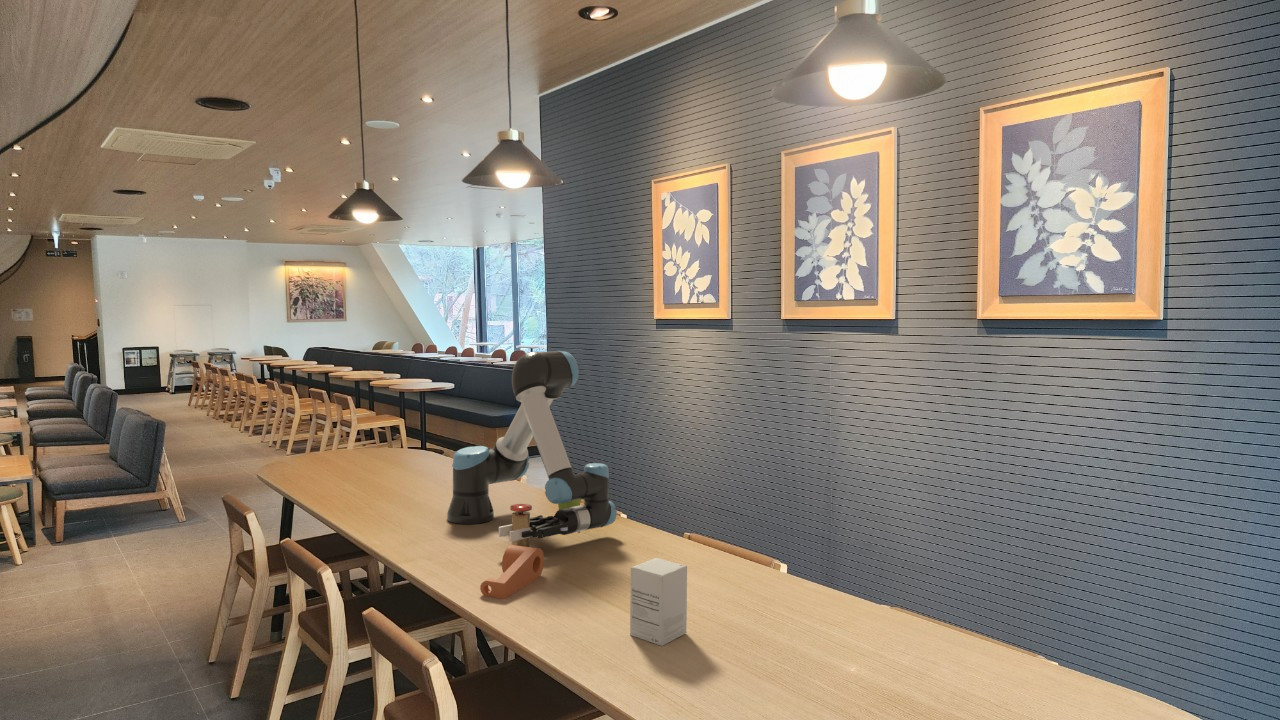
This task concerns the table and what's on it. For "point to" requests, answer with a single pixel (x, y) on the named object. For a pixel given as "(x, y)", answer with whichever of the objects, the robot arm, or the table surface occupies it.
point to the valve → (521, 521)
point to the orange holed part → (515, 571)
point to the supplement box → (658, 601)
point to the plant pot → (569, 504)
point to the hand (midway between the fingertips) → (505, 534)
